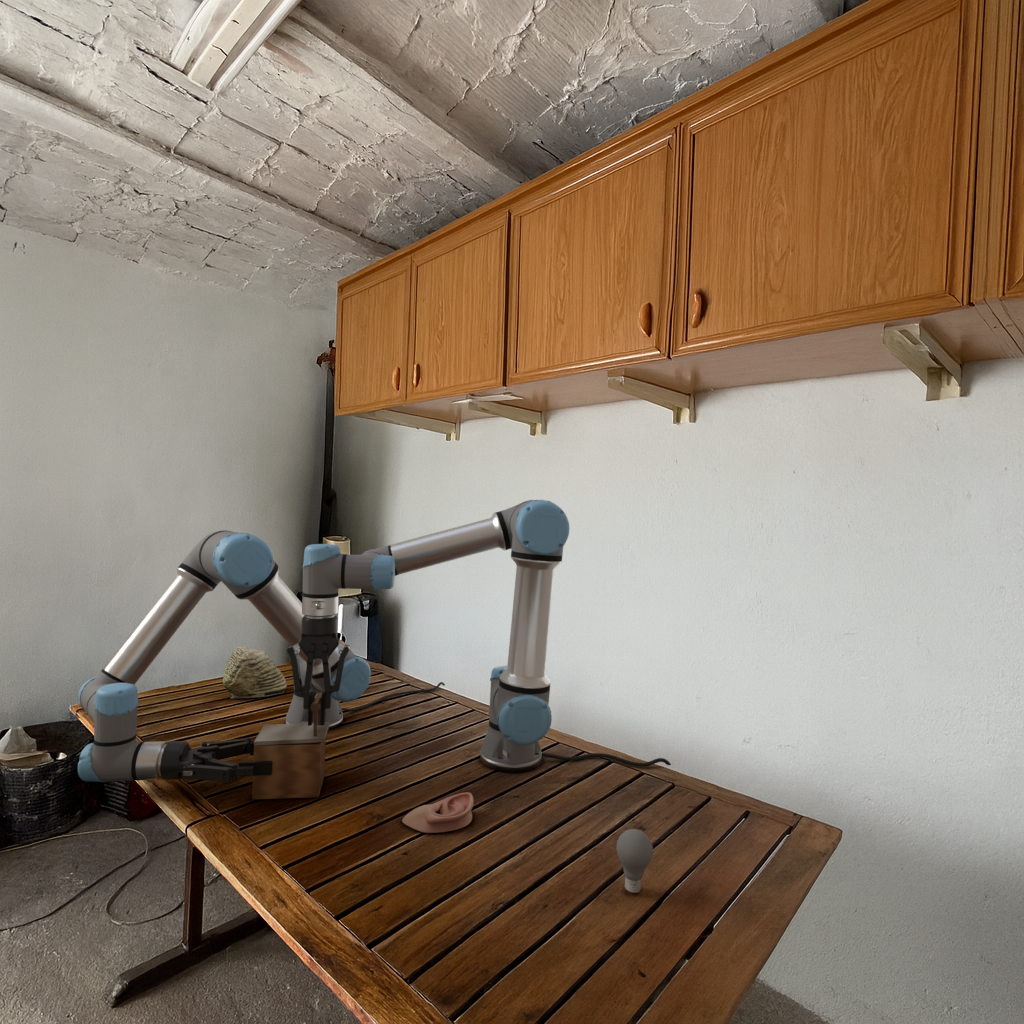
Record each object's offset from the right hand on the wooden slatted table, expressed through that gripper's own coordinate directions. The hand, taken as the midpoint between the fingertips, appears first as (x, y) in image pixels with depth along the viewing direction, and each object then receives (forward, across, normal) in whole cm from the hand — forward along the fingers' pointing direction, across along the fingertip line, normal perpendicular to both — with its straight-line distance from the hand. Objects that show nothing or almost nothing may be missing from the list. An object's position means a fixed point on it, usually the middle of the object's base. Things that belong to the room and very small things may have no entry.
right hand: (316, 723), depth 138 cm
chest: (+14, -5, 0) cm, 15 cm away
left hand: (+7, -8, 0) cm, 11 cm away
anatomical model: (+14, +26, -17) cm, 34 cm away
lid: (+3, -5, 0) cm, 5 cm away
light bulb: (+15, +57, -43) cm, 73 cm away
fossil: (+14, -27, +66) cm, 72 cm away
